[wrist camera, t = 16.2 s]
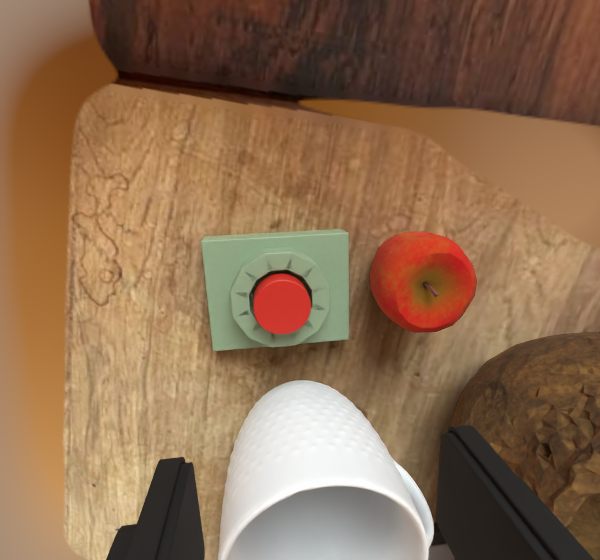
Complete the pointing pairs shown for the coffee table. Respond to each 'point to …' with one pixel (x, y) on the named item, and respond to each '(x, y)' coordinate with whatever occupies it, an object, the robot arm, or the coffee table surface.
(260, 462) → the mug
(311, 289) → the control block
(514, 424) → the bowl
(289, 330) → the button
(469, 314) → the coffee table surface
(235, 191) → the coffee table surface
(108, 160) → the coffee table surface
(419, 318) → the apple
